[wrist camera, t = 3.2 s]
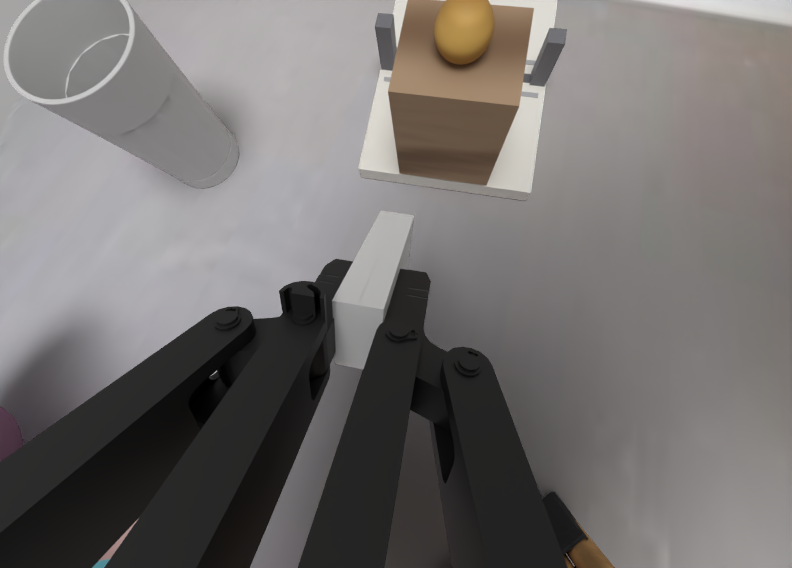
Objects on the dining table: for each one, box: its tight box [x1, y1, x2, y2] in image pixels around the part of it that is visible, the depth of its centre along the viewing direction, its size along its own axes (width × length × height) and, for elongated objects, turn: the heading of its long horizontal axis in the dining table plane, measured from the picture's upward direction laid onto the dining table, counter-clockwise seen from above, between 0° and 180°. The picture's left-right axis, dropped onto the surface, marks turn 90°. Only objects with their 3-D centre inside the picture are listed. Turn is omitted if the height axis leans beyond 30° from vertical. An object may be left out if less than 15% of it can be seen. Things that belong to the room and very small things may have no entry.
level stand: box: [358, 0, 567, 201], centre depth 27 cm, size 20×14×6 cm
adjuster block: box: [388, 0, 534, 185], centre depth 21 cm, size 6×7×12 cm
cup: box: [4, 0, 239, 188], centre depth 24 cm, size 8×8×12 cm
